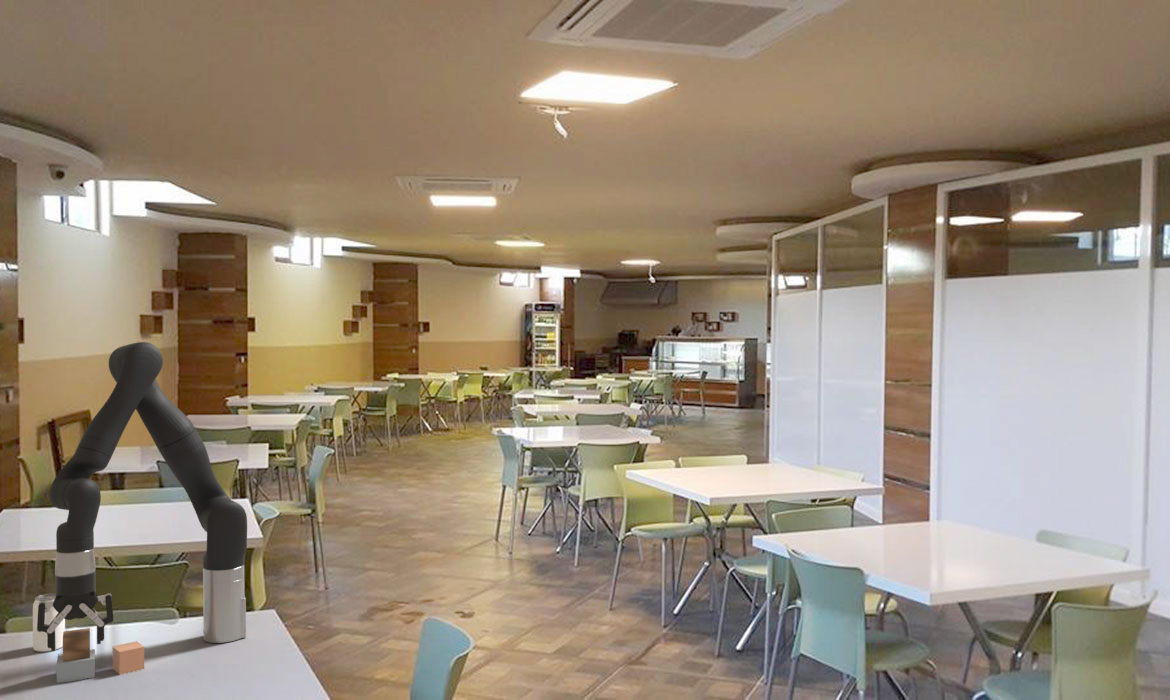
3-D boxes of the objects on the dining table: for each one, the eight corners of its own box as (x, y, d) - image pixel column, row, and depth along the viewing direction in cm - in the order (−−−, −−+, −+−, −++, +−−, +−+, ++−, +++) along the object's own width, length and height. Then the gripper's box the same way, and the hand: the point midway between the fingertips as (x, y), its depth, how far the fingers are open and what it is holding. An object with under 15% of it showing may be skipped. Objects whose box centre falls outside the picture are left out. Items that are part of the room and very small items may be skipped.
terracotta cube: (137, 663, 206) (136, 641, 206) (144, 669, 202) (144, 646, 202) (112, 669, 203) (112, 646, 203) (119, 675, 199) (119, 652, 199)
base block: (94, 667, 204) (94, 649, 204) (94, 677, 197) (94, 658, 197) (58, 672, 200) (58, 654, 200) (56, 683, 194) (56, 664, 194)
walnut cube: (89, 651, 202) (89, 628, 202) (89, 657, 198) (89, 634, 198) (63, 654, 200) (63, 631, 200) (62, 661, 196) (62, 638, 195)
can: (50, 653, 213) (50, 601, 213) (26, 651, 214) (25, 599, 214) (71, 644, 219) (71, 593, 219) (47, 642, 220) (47, 592, 220)
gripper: (112, 563, 205) (113, 636, 205) (37, 570, 199) (38, 646, 199) (113, 570, 199) (113, 646, 199) (35, 578, 192) (36, 657, 192)
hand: (76, 646), depth 199 cm, fingers open, 8 cm apart
